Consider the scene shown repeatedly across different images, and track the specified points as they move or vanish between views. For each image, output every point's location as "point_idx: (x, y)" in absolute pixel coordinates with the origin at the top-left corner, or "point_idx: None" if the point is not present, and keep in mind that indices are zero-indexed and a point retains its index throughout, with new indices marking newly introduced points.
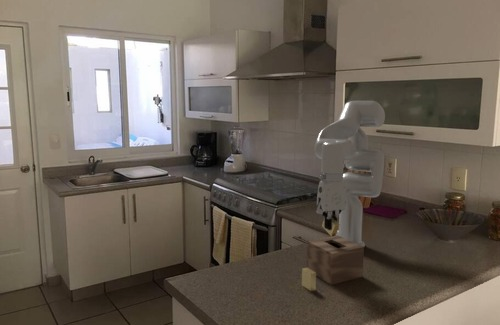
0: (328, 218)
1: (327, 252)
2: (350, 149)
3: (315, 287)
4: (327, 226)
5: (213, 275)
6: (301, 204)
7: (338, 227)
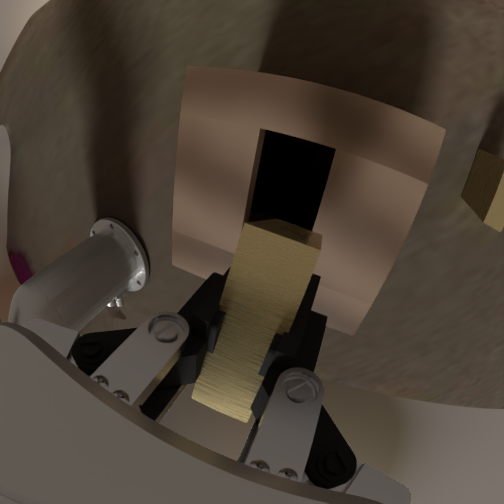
0: (305, 382)
1: (429, 174)
2: None
3: (482, 150)
4: (322, 317)
5: (496, 386)
6: None
7: (260, 222)
